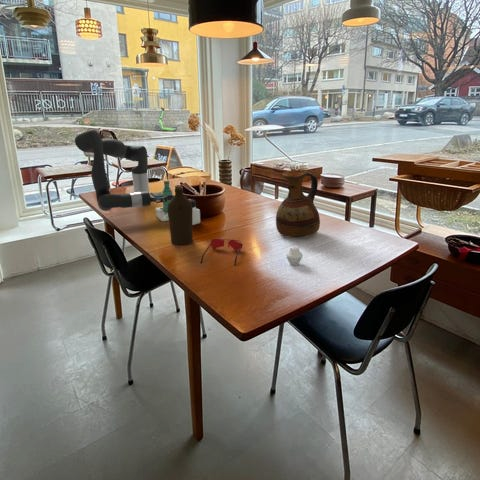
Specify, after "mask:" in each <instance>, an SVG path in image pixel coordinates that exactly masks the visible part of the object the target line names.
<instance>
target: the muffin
mask: <svg viewBox="0 0 480 480" xmlns="http://www.w3.org/2000/svg"><path fill="white" fill-rule="evenodd" d="M285 256H286V259H287V261H288V262H289V264H290V265H291V266H298V265H299V264H300V262H301V261H302V258H303V253H302V252H301V250H300V248H299V247H298V246H291V247H290V249H289V250H288V252H286V254H285Z"/></svg>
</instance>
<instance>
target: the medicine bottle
mask: <svg viewBox="0 0 480 480" xmlns="http://www.w3.org/2000/svg"><path fill="white" fill-rule="evenodd" d="M187 199H188V200H189V201H190V202H191V204H192V226H195V225H198V224H201V210H200V209H199V208H197V202H196V200H195V199H191V198H187Z"/></svg>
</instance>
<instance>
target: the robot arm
mask: <svg viewBox="0 0 480 480" xmlns="http://www.w3.org/2000/svg"><path fill="white" fill-rule="evenodd" d="M74 144H75V146H76V147H77V149H79V150H80V152H84V153H89V154H90V153H92V154H93V161H92V162H93V163H92V167H91V171H90V172H91V173H90V175H91V180H92V181H91V182H92V184H93V189H94V191H95V195H96V196H95V197H96V202H97V206H98V208H99V209H100V210H101V211H103V212H107V211H110V210H112V208H113V209H114V208H122V209H129V208H140V207H142V208H143V207H149V206H151V203H156V204H161V203H162V204H163V202H167V200H171V199H172V198H173V197H174V196H175V194H173V195H169V196H163V195H162V191H161V192H160V191H159V192H150V186H149V183H150V182H149V174H148V168H149V165H148V164H149V163H148V159H149V158H148V151H147V148H146V147H145V146H144V145H133V144H132V145H127V144H125V143H124V142H122V140H118V139H115V138H102V137H101V134H100V133H99V131H97V130H96V129H95V128H91V129H88V130H86V131H83V132H81V133H79V134H78V135H76V136H75V138H74ZM105 156H110V157H114V158H123V159H126V160H129V161H131V162H137V165H136V166H134V167H131V179H132V184H133V185H132V186H133V187H132V188H133V192H130V193H120V194H119V193H110V183H109V179H108V175H107V172H106V166H105ZM163 198H164V199H163Z"/></svg>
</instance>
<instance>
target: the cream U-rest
mask: <svg viewBox="0 0 480 480" xmlns="http://www.w3.org/2000/svg"><path fill="white" fill-rule="evenodd" d="M155 214H156V217H157V218H158V219H159V220H160V221H161V222H165V221H166V222H167V221H169V217H168V213H165V212H163V206H158V207H155Z"/></svg>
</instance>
